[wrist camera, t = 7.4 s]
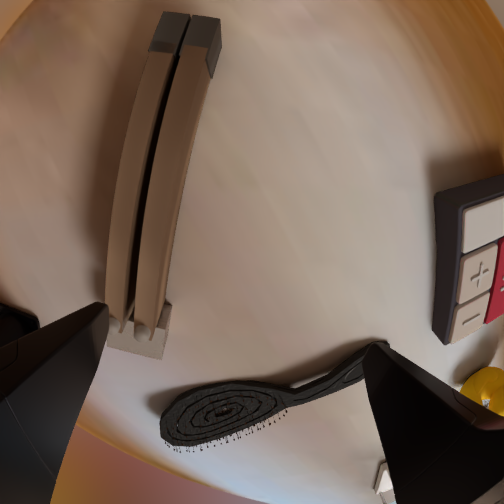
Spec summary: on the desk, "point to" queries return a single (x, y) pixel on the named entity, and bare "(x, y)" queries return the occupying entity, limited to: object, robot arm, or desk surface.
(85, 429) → the desk surface
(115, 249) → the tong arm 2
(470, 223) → the calculator
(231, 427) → the hairbrush
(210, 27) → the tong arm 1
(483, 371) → the duckling
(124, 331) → the tong hinge block
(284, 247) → the desk surface
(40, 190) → the desk surface
